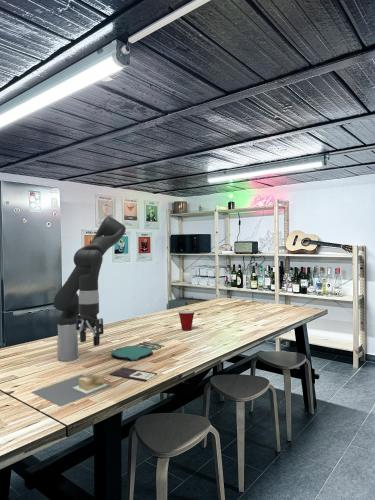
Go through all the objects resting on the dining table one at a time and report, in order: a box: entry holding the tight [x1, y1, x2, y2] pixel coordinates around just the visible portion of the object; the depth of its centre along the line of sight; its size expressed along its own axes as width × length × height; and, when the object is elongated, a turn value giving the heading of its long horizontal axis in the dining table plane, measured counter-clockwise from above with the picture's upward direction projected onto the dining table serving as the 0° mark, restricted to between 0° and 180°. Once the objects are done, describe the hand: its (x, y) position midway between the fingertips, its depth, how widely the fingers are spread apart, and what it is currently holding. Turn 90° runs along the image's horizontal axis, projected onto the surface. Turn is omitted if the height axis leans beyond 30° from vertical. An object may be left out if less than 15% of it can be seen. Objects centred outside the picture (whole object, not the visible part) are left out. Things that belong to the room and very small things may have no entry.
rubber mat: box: [30, 374, 112, 408], centre depth 137 cm, size 20×22×1 cm
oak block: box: [79, 372, 105, 391], centre depth 139 cm, size 8×5×4 cm, turn 142°
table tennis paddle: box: [110, 341, 166, 362], centre depth 184 cm, size 20×30×2 cm, turn 148°
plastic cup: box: [177, 310, 196, 332], centre depth 229 cm, size 11×11×12 cm
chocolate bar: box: [109, 367, 158, 383], centre depth 152 cm, size 9×1×18 cm
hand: (89, 343), depth 138 cm, fingers open, 8 cm apart
